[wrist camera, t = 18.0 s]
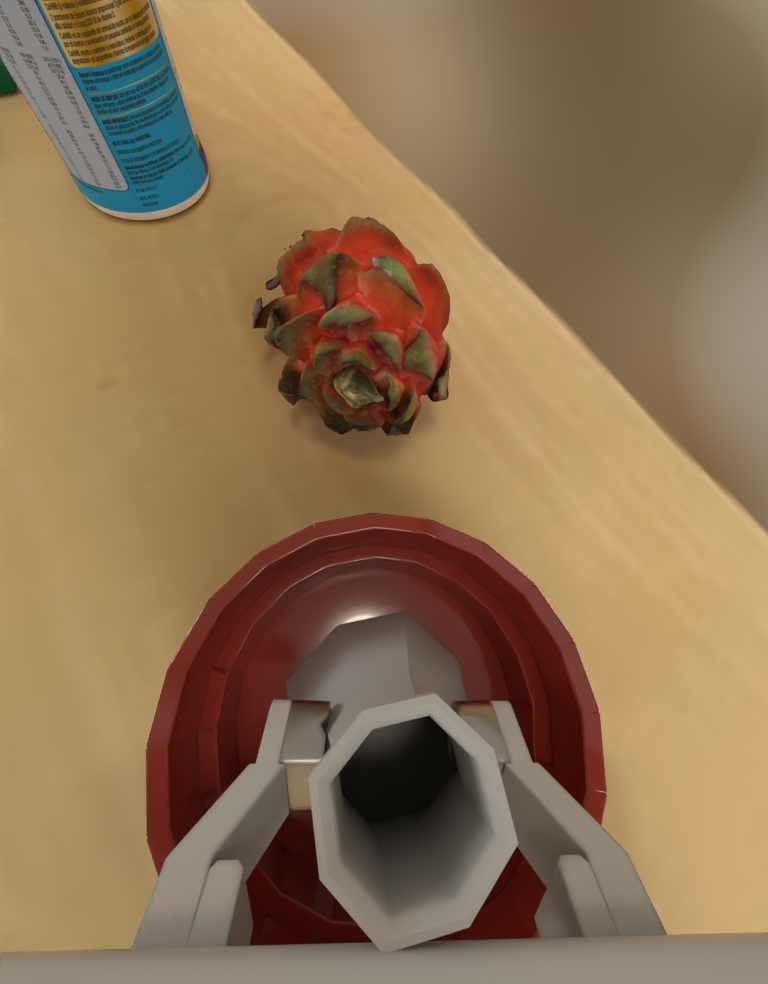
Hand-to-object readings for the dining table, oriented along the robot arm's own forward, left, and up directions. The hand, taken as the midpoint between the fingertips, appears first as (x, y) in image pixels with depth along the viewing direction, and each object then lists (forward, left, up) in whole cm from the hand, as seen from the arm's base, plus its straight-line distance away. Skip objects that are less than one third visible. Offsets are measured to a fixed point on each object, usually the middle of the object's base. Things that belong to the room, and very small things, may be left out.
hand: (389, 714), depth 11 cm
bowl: (0, -1, -6) cm, 6 cm away
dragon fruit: (-3, +16, -6) cm, 17 cm away
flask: (0, -1, -6) cm, 6 cm away
